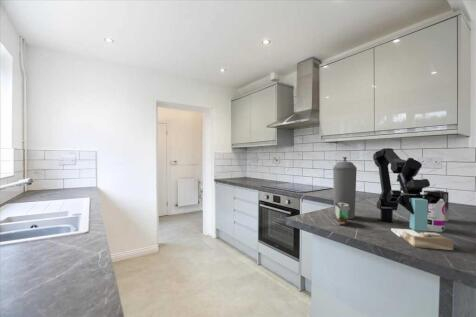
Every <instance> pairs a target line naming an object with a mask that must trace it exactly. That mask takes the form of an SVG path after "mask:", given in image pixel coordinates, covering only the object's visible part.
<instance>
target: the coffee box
mask: <svg viewBox="0 0 476 317" xmlns="http://www.w3.org/2000/svg"><path fill="white" fill-rule="evenodd" d="M428 191H429V190H423V195H426V194H427V193H428ZM431 191H435V192H440V193H441V195H442V198H441V199H443V201H444V202H445V222H449V192H448V191H444V190H439V189H438V190H434V189H433V190H431Z"/></svg>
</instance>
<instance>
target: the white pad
mask: <svg viewBox="0 0 476 317" xmlns="http://www.w3.org/2000/svg"><path fill="white" fill-rule="evenodd" d="M390 229H391V230H390V231H391V232H393V233H394V234H395V235H397V237H398V238H403V231H406V232H407V233H409V234H410V235H412V236H419V237H420V232H418V231H416V230H413V229H408V228H407V229H406V228H405V229H404V228H390Z"/></svg>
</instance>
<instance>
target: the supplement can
mask: <svg viewBox="0 0 476 317" xmlns="http://www.w3.org/2000/svg"><path fill="white" fill-rule="evenodd" d="M445 222H446V221H445V202H444V201H443V199H440V200H439V201H438V202H437V203H436V204H429V205H428V217H427V231H430V232H433V233H443V231H445Z"/></svg>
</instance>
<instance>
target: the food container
mask: <svg viewBox="0 0 476 317" xmlns="http://www.w3.org/2000/svg"><path fill="white" fill-rule="evenodd" d="M348 210H350V207H349V205H348V204H346V203H342V202H335V216H334V218H335V222H336V223H337V225H338V226H347V225H348V220H349V219H348Z"/></svg>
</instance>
